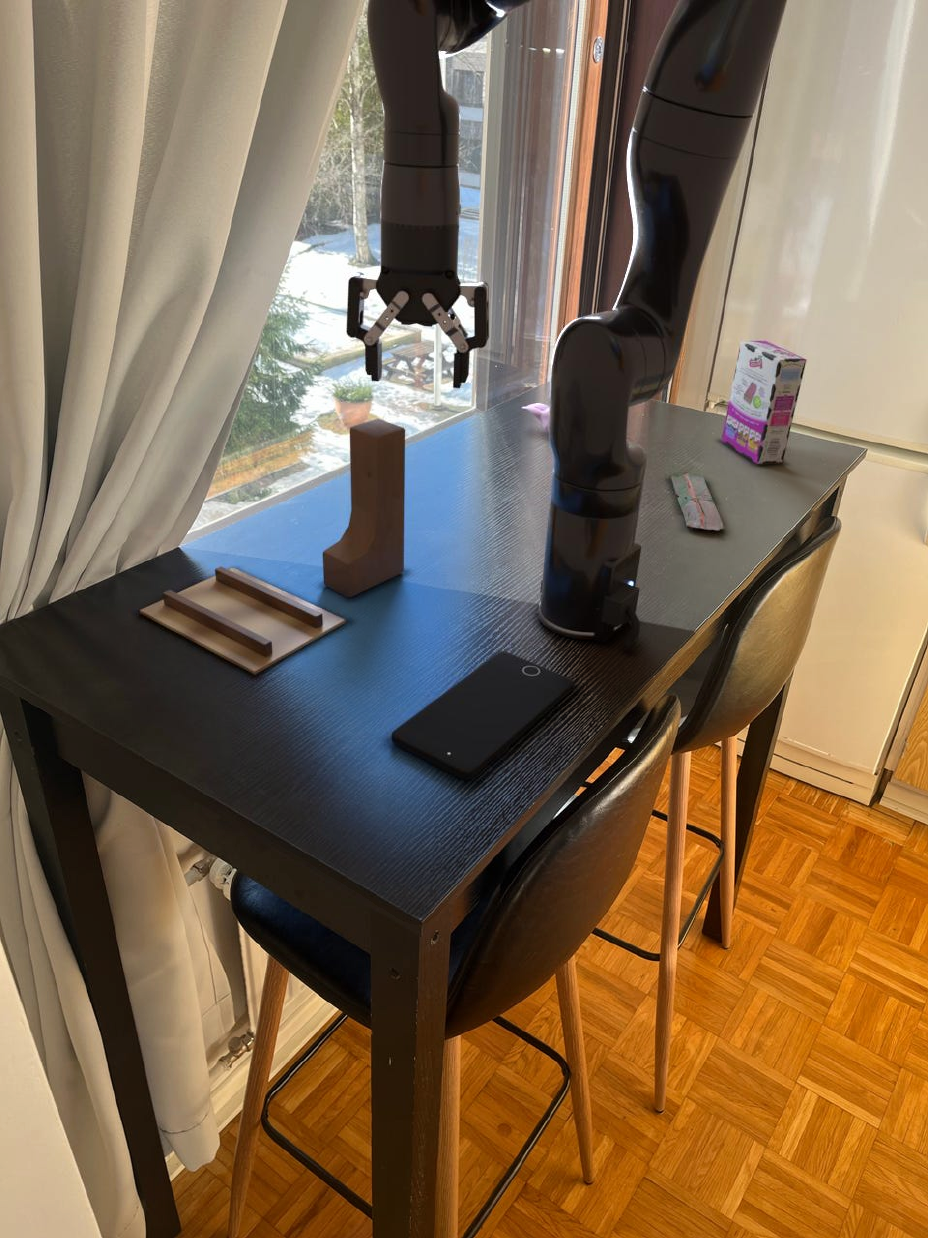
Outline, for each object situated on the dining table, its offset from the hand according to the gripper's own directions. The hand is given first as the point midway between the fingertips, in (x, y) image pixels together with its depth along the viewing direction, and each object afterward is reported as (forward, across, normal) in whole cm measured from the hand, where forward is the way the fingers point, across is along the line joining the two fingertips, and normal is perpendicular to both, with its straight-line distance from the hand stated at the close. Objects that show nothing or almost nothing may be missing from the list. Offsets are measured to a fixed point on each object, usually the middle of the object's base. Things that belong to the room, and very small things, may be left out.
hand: (417, 382), depth 99 cm
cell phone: (+24, +11, -24) cm, 36 cm away
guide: (+24, -17, -12) cm, 31 cm away
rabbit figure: (+24, +15, +53) cm, 60 cm away
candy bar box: (+24, +46, +52) cm, 74 cm away
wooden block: (+24, -6, -1) cm, 24 cm away
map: (+24, +35, +30) cm, 52 cm away
